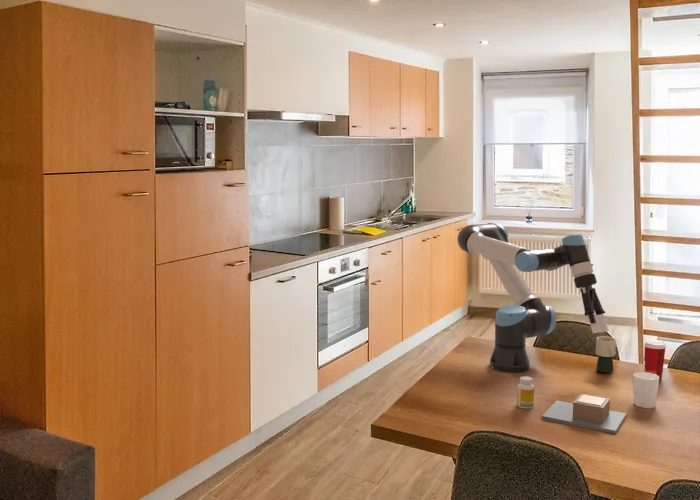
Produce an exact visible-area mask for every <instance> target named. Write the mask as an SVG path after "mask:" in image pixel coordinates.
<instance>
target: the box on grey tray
mask: <svg viewBox="0 0 700 500" xmlns="http://www.w3.org/2000/svg"><path fill="white" fill-rule="evenodd" d="M610 402H611V399H610V398H606V397H602V396H594V395H589V394H584V393H580V394H579V395H578V396H577V397H576V398H575V399H574V400H573V402H567V401H563V400H555V402H554V403H552V405H551V406H550V407H549V408H548V409H547V410H546V411H545V412H544V413H543V414H542V416H541V419H542V420H546V421H551V422H554V423H555V422H556V423H561V424H565V425H568V426H569V425H570V426H575V427H579V428H580V427H581V428H585V429H588V430H589V429H590V430H595V431H599V432H604V433H605V432H606V433H609V434H617V432H618V431H619V430H620V427H621V426H622V424H623V423H624V421H625V419H626V418H627V412H619V411H615V410H611V409H610V407H611V406H610V405H611V403H610Z"/></svg>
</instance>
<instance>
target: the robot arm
mask: <svg viewBox="0 0 700 500" xmlns="http://www.w3.org/2000/svg"><path fill="white" fill-rule="evenodd" d="M457 245H458V247H459V248H460V249H461V250H462V251H464V252H465V253H468V254H471V255H478V254H479V255H481V256H482V257H483V259H484V260H487V261H489V263H490V264H491V266H492V267H493V270H494V272H495V273H496V275H497V277H498V279H499V281H500V282H501V284H502V285H503V287H504V289H505V290H506V292H507V295H508V297H510V300H511V301H512V303H513V305H506V306H502V307H500V308H499V309H497V310H496V312H495V318H494V348H493V351H492V353H491V356H490V359H489V366H491V367H490V368H492V367H493V368H494V370H496V369H497V371H499V370H501V371H500V372H504V371H505V372H506V373H522V372H527V371H529V369H530V359H529V356H528V353H527V352H528V351H527V350H526V349H527V348H526V340H527V339H529V338H530V339H531V338H535V337H542V336H546V335H548V334H550V333H551V332H553V331H554V330H555V328H556V325H557V323H556V322H557V314H556V312H555V310H554V308H553V307H552V306H551V305H549V304H544V303H543V301H542V299H541V298H540V297H539V296H535V295H534V293H533V291H532V290H531V288H530V287H529V284H528V283H527V281H526V280H525V277H524V276H523V275H522V273H525V272H526V273H532V272H537V271H545V270H546V271H548V272H551V271H554V270H558V269H560V268H562V267H564V266H567V265H569V269H570V274H571V275H572V276H571V277H573V281H574V284H575V285H574V286H575V288H576V289H579V291H580V294H581V299H582V303H583V310H584V313H583V315H584V316H585V317H587V319H588V321H589V325H590V329H591V333H592V334H597V333H601V334H602V333H606V332H609V328H608V325H607V321H606V317H605V315H604V314H606V311H605V310H604V308H603V305H602V303H601V301H600V299H599V296H598V293H597V291H596V288H595V287H593V286H594V285H596V284H597V283H598V281H597V277H596V275H595V274H594V273H593V272H594V269H593V267H594V264H593V263H592V262H591V259H590V256H589V252H588V248H587V245H586V242H585V239H584V237H583V235H582V234H581V233H573V234H569V235H566V236H565V237H562V239H561V245H559V246H557V247H554V248H545V249H537V250H533V249H529V248H525V247H522V246H520V245H519V246H518V245H516V244H513V243H509V233H508V231H507V229H506V228H505V226H503V225H501V224H500V223H492V222H490V223H489V222H488V223H481V224H469V225H466V226H464V227H462V228H461V229H460V231H459V232H458V234H457ZM521 272H522V273H521ZM493 368H492V369H493ZM505 372H504V373H505Z"/></svg>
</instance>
